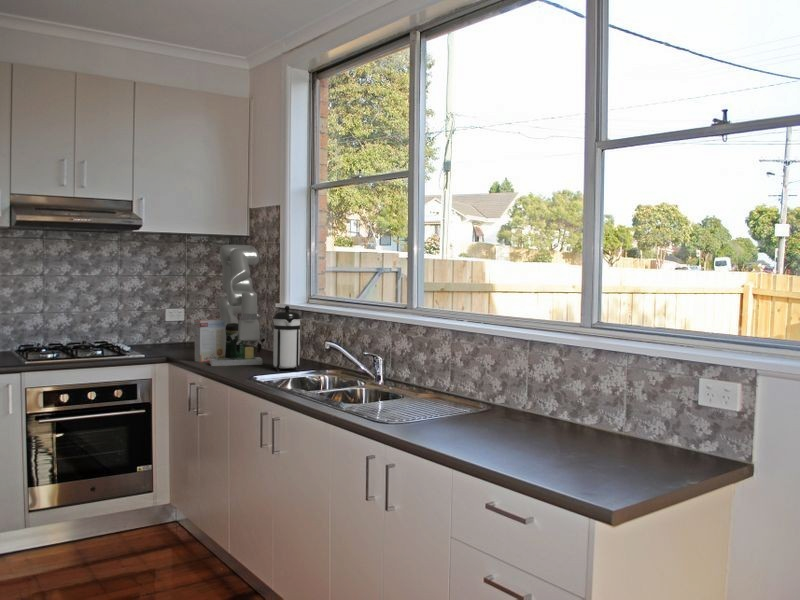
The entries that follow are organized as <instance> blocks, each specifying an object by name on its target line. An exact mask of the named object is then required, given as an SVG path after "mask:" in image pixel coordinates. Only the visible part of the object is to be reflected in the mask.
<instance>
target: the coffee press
mask: <svg viewBox="0 0 800 600" xmlns="http://www.w3.org/2000/svg"><path fill="white" fill-rule="evenodd" d="M272 317H273V324H272V325H273V327H272V329H273V351H272V352H273V353H272V354H273V356H272V357H273V359H272V360H273V362H272V363H273V364H272V366H271V367H272V369H273V368H275V371H276V370H280V371H281V370H282V369H295V370H296V369H298V370H299V369H300V370H301V367H300V350H301V349H300V346H301V345H300V343H301V342H300V340H301V339H300V338H301V319H302V317H301V315H300V313H299V312H297V311H294V310H290V306H289V305H285V306H284V310H278V311H276V312H275V313H274V316H272ZM295 367H296V368H295Z"/></svg>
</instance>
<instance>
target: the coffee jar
mask: <svg viewBox="0 0 800 600" xmlns="http://www.w3.org/2000/svg"><path fill="white" fill-rule="evenodd" d="M238 326H239V323H238V324H237V323H229V324H227V325H226V329H225V331H226V351H225V358H240V357H244V341H241V342H240V343H239V345H240V353H238V351H236V343H235V342H234V341H233V340H232V338H231V335H233V334H235V333H236V332H238ZM234 338H235V340H236V341H237V340H238V335H237V336H235V337H234Z"/></svg>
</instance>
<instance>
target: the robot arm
mask: <svg viewBox="0 0 800 600" xmlns="http://www.w3.org/2000/svg"><path fill="white" fill-rule="evenodd" d="M219 259H220V262H221V265H222V281H221V282H222V283H221V284H222V286H221V288H222V290H223V292H224V293H226V295H224V296H221V297H220V298H219V299H218V308H219V316H220V317H219V319H222V320H225V329H226V325H227V324H229V323H237V324H239V326H238V332H236V333H235V334H233V335H231V338H232V340H233V341H234V342H235V343H236V351H238V353H240V345H239V343H240V342H241V341H243V342H246V341H248V342H249V341H250V342H251V341H254V342H255V341H257V353H259V354H260V353H261V351H262V345H263V343H264V342H265V341H266V339H267V338H268V335H267V334H265V333H264V332H261V331H260V322H259V318H261V314H258V292H255V291H253V289H254V288H253V287H254V286H253V279H252V277H250V276H251V270H250V266H257V265H258V264H259V262H260V255H259V252H258V250H257V248H255V247H254V246H253V245H248V244H247V245H246V244H223V245H221V247H220V248H219ZM234 314H241V315H240V317H241V318H240V319H239V320H238V318H237V316H235V315H234ZM237 335H238V340H237V341H236V340H235V338H234V337H235V336H237ZM261 337H262V338H261ZM260 338H261V339H260ZM225 351H226V331H225Z"/></svg>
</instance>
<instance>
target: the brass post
mask: <svg viewBox="0 0 800 600" xmlns="http://www.w3.org/2000/svg"><path fill="white" fill-rule="evenodd" d="M243 348H244V359H254V357H255V355H254V349H255V348H254V347H253V346H243Z"/></svg>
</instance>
